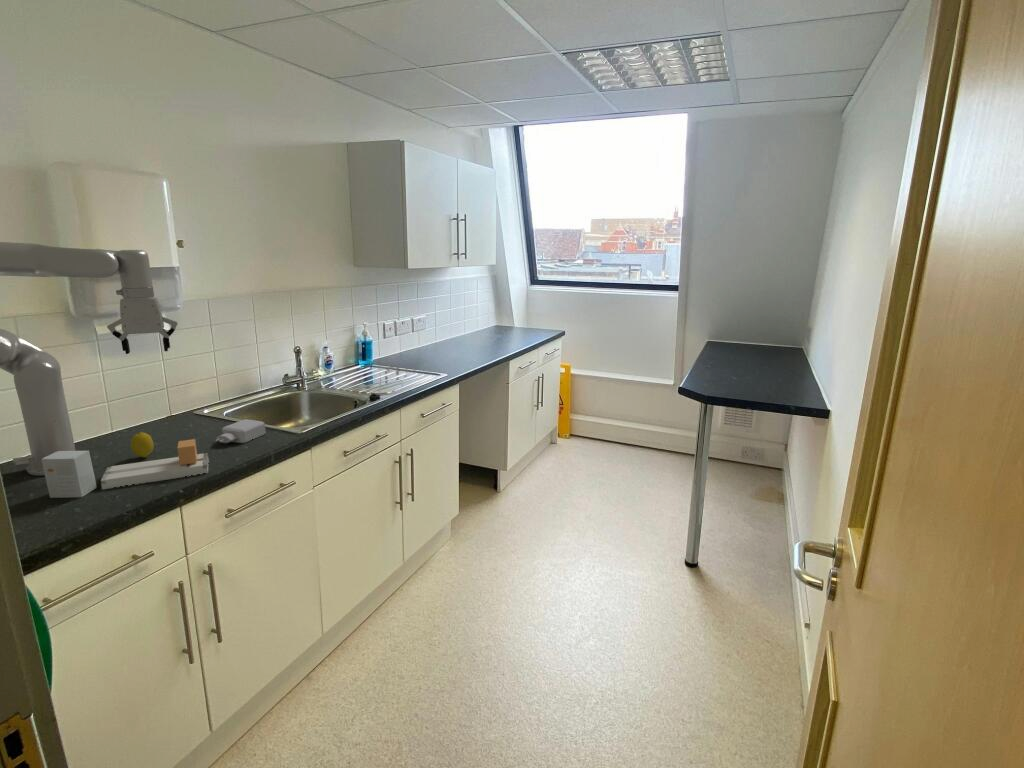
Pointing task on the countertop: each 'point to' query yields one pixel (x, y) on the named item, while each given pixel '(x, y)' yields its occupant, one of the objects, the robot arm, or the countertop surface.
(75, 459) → the small box
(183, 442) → the fader knob
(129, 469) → the fader panel
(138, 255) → the robot arm
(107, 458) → the countertop surface
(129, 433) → the countertop surface
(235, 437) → the grey bottle
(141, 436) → the lemon
